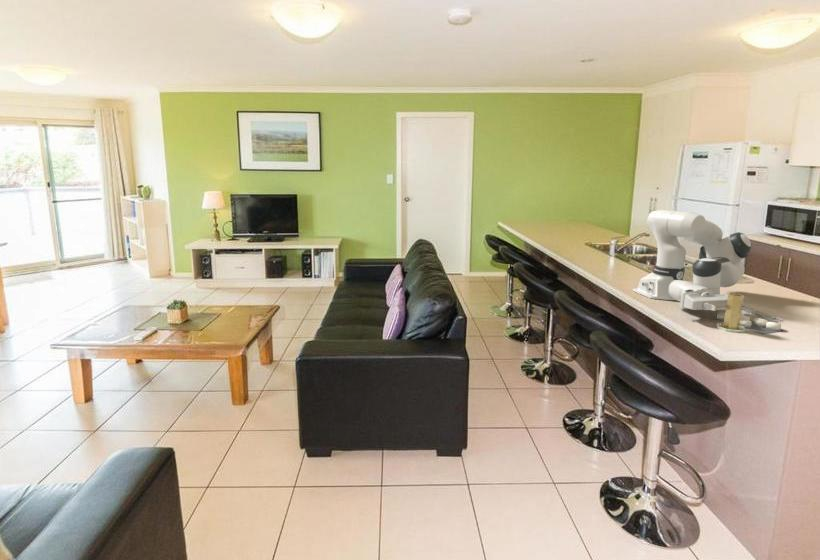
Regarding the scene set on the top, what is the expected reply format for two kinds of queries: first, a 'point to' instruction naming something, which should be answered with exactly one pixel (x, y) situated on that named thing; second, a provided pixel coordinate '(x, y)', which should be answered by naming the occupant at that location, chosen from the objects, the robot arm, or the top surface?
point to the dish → (730, 329)
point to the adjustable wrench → (761, 314)
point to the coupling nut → (733, 311)
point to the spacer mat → (758, 329)
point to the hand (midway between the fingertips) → (728, 308)
